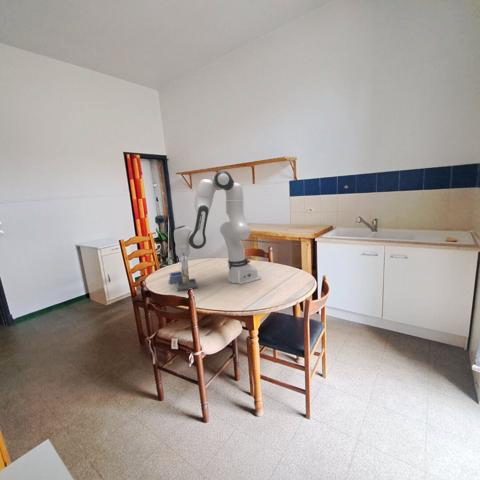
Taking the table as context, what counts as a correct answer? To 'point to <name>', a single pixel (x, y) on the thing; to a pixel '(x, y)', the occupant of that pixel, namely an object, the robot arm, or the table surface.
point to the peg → (185, 276)
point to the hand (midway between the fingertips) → (185, 272)
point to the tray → (187, 285)
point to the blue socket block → (175, 277)
